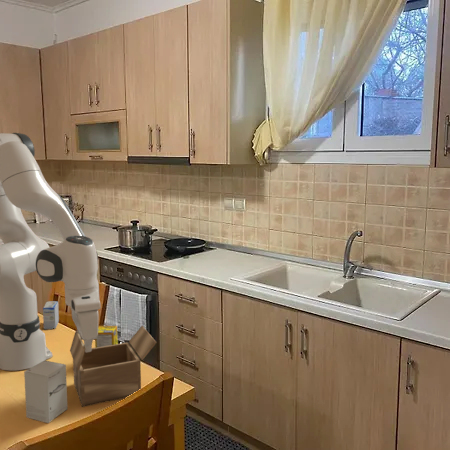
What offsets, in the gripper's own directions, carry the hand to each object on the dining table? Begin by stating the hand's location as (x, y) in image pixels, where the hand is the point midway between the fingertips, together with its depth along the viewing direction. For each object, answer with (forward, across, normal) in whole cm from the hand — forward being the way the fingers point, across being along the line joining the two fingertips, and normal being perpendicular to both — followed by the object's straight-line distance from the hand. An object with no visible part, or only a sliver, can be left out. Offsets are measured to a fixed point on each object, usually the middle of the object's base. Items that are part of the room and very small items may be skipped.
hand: (84, 344), depth 132 cm
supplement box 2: (+14, -19, +10) cm, 26 cm away
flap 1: (+1, 0, -2) cm, 2 cm away
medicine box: (+14, -60, -3) cm, 61 cm away
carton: (+14, 0, +6) cm, 15 cm away
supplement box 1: (+14, +6, -11) cm, 19 cm away
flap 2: (+2, 0, +16) cm, 16 cm away
